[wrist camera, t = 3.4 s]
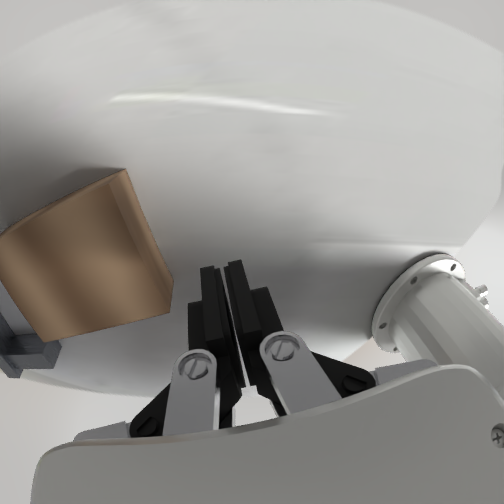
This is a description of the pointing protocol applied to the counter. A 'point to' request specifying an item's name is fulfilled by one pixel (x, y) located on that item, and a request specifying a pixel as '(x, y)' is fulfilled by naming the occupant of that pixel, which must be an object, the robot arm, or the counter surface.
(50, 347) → the stop bracket
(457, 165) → the counter surface
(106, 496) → the robot arm
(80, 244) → the walnut slab
